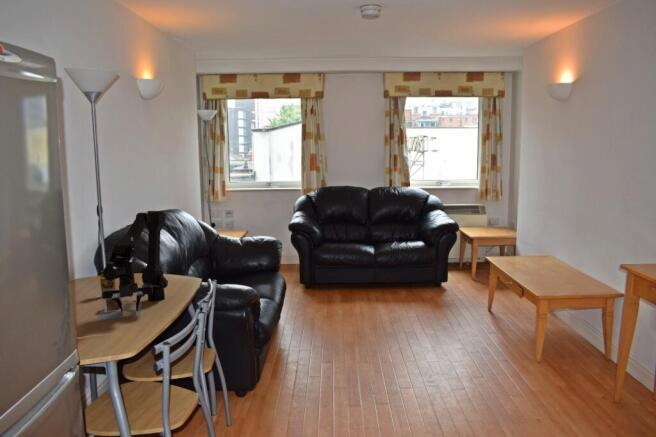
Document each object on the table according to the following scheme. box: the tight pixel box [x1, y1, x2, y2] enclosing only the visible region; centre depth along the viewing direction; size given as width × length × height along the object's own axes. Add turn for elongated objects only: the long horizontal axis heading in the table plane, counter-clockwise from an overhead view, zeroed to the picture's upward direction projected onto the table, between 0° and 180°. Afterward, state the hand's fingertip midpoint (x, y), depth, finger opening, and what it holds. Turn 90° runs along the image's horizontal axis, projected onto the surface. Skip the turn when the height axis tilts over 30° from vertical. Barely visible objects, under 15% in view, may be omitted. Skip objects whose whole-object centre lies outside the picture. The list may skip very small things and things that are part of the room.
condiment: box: [95, 269, 117, 299], centre depth 247 cm, size 7×8×12 cm
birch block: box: [122, 299, 137, 316], centre depth 218 cm, size 5×5×5 cm
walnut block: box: [105, 298, 120, 311], centre depth 225 cm, size 5×5×5 cm
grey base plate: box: [96, 302, 143, 322], centre depth 222 cm, size 16×18×1 cm
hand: (130, 312), depth 218 cm, fingers closed on birch block, 5 cm apart
